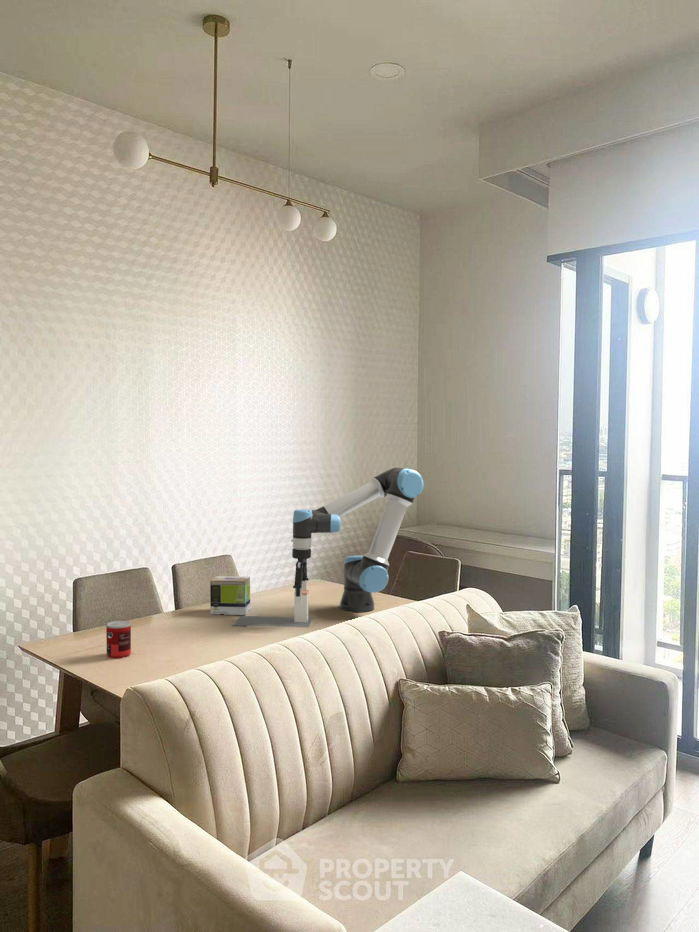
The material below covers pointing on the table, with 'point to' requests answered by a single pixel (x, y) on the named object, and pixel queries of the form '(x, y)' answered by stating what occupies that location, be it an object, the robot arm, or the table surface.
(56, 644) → the table surface
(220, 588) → the tea box
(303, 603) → the cream block
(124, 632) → the canned food
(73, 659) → the table surface
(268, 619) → the rubber mat
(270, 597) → the table surface
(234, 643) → the table surface
